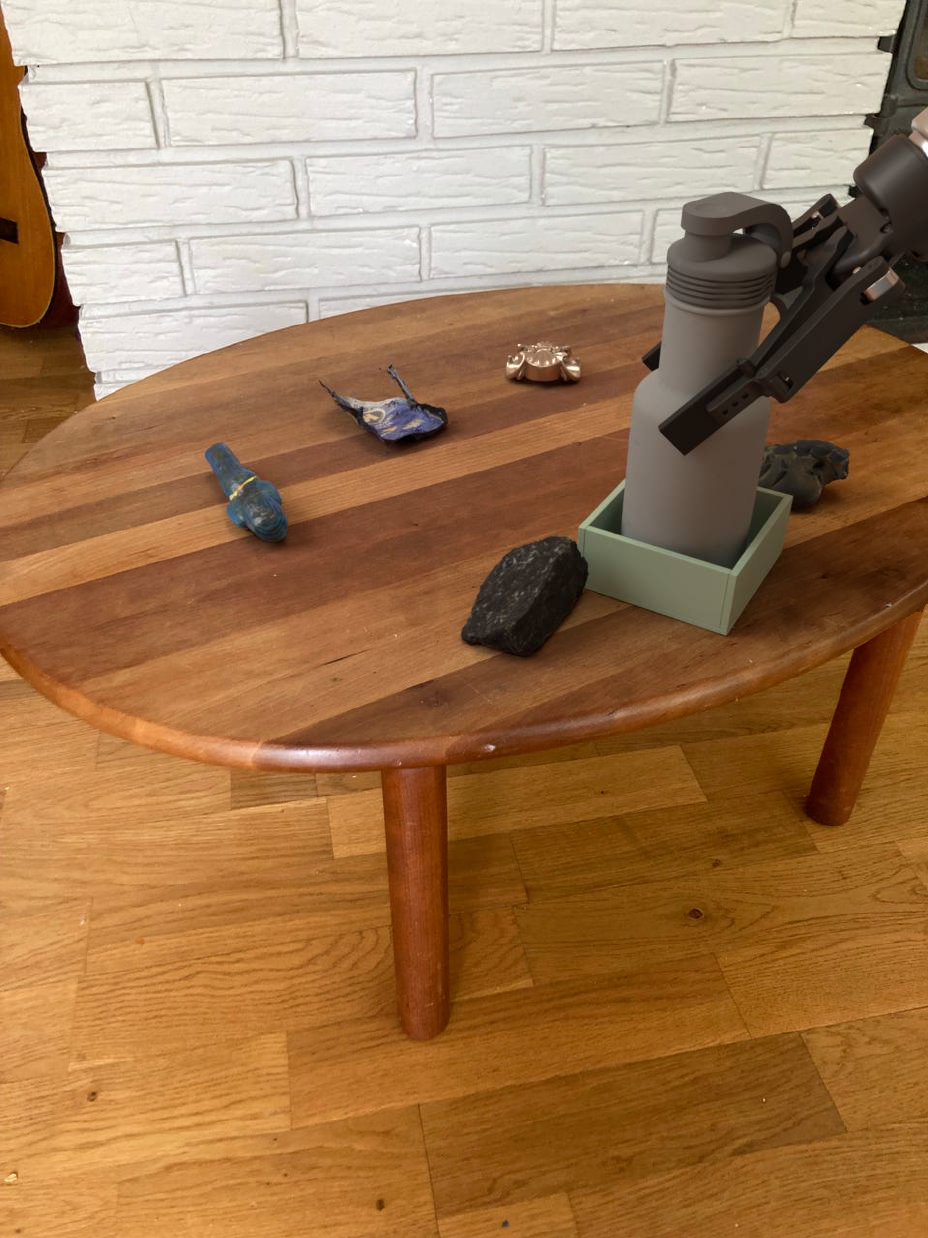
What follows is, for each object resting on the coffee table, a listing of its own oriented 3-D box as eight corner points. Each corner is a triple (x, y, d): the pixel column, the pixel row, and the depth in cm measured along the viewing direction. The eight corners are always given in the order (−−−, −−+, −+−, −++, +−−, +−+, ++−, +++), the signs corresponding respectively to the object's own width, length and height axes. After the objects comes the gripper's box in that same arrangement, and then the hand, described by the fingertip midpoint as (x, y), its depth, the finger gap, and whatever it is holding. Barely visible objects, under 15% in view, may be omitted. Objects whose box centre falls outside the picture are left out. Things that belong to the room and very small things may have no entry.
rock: (448, 642, 77) (446, 578, 73) (506, 570, 84) (507, 509, 81) (535, 669, 74) (537, 605, 71) (587, 593, 82) (592, 530, 78)
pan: (781, 553, 85) (793, 495, 82) (726, 636, 77) (737, 576, 74) (640, 511, 91) (646, 455, 87) (574, 585, 82) (578, 526, 79)
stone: (685, 472, 96) (691, 420, 93) (833, 475, 95) (844, 422, 92) (691, 512, 91) (698, 458, 88) (848, 515, 90) (860, 461, 86)
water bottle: (678, 513, 89) (723, 169, 71) (770, 564, 83) (844, 202, 65) (593, 558, 84) (618, 201, 66) (684, 615, 78) (739, 240, 60)
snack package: (423, 392, 110) (315, 406, 107) (426, 338, 105) (312, 352, 102) (458, 461, 102) (342, 479, 99) (462, 407, 98) (340, 424, 95)
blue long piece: (202, 481, 97) (261, 566, 87) (184, 451, 94) (242, 535, 85) (246, 455, 98) (309, 536, 88) (229, 424, 95) (292, 504, 85)
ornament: (580, 363, 115) (582, 331, 112) (579, 391, 109) (581, 358, 107) (508, 361, 115) (508, 329, 113) (503, 388, 110) (504, 356, 108)
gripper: (857, 87, 72) (614, 307, 82) (973, 183, 54) (644, 449, 65) (916, 167, 75) (674, 370, 86) (1043, 283, 57) (719, 521, 68)
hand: (661, 404), depth 75 cm, fingers closed on water bottle, 10 cm apart
